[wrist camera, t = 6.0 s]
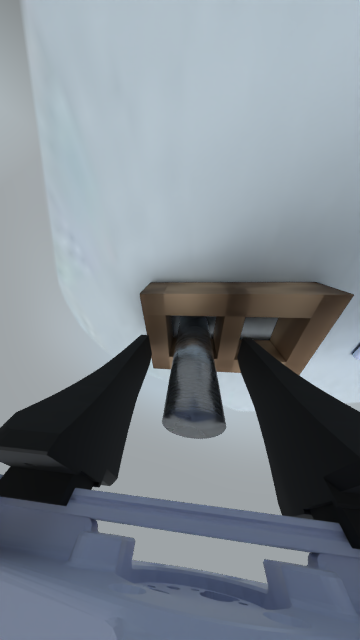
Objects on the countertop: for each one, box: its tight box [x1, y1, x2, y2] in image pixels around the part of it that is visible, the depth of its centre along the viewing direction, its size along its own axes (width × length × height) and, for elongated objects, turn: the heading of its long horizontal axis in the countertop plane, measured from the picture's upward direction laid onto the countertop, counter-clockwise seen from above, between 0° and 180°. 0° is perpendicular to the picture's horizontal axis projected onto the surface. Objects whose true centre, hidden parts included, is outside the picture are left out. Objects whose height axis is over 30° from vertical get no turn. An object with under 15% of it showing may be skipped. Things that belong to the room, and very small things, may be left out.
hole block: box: [140, 282, 354, 375], centre depth 12 cm, size 14×8×3 cm, turn 91°
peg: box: [162, 316, 226, 439], centre depth 10 cm, size 3×3×9 cm
